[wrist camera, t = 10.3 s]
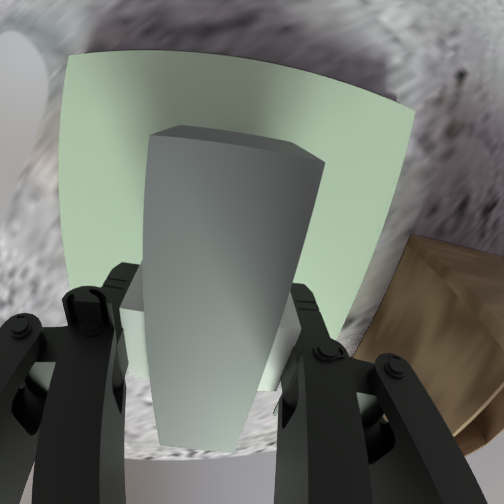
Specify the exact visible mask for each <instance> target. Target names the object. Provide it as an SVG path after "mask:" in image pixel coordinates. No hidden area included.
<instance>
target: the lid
mask: <svg viewBox="0 0 504 504" xmlns="http://www.w3.org/2000/svg"><path fill="white" fill-rule="evenodd" d="M415 112H416V111H415V110H413V109H411V108H408V107H406V106H404V105H402V104H399V103H397V102H395V101H392V100H390V99H387V98H385V97H383V96H380V95H377V94H375V93H372V92H370V91H367V90H364V89H361V88H359V87H356V86H353V85H350V84H347V83H344V82H341V81H338V80H334V79H331V78H328V77H325V76H321V75H318V74H314V73H310V72H307V71H303V70H299V69H295V68H290V67H286V66H282V65H277V64H272V63H267V62H262V61H257V60H251V59H245V58H239V57H232V56H224V55H216V54H207V53H196V52H182V51H156V50H134V51H109V52H96V53H86V54H77V55H69V58H68V63H67V69H66V75H65V81H64V88H63V96H62V105H61V116H60V130H59V155H58V179H59V204H60V219H61V230H62V239H63V248H64V255H65V262H66V269H67V275H68V281H69V286H70V291H71V290H72V289H74V288H77V287H81V286H96V287H100V288H101V286H103V283H104V281H105V280H106V279H107V276H108V275H109V273H110V271H111V270H112V268H114V267H115V266H117V265H118V264H120V263H121V262H126V263H133V264H140V263H141V261H142V259H143V301H144V320H145V335H146V347H147V358H148V368H149V377H150V385H151V393H152V400H153V407H154V413H155V420H156V426H157V431H158V437H159V442H160V445H163V446H170V447H178V448H186V449H195V450H207V451H222V452H234V451H235V448H236V446H237V443H238V441H239V438H240V436H241V433H242V430H243V428H244V425H245V422H246V420H247V417H248V414H249V412H250V409H251V406H252V403H253V401H254V398H255V395H256V392H257V389H258V387H259V384H260V381H261V378H262V375H263V372H264V369H265V367H266V364H267V361H268V358H269V355H270V352H271V349H272V346H273V343H274V340H275V337H276V334H277V331H278V328H279V325H280V321H281V318H282V315H283V312H284V309H285V306H286V302H287V299H288V296H289V293H290V289H291V286H292V283H301V284H305V285H306V286H307V287H308V288H309V289H310V290H311V291H312V292H313V295H314V297H315V299H316V304H318V307H319V312H321V315H322V317H323V320H324V322H325V325H326V327H327V330H328V333H329V335H330V338H332V339H334V340H336V338H337V336H338V334H339V332H340V330H341V328H342V326H343V324H344V322H345V319H346V317H347V315H348V313H349V311H350V308H351V306H352V304H353V302H354V299H355V297H356V295H357V293H358V290H359V288H360V285H361V283H362V281H363V278H364V276H365V273H366V271H367V268H368V266H369V263H370V261H371V258H372V256H373V253H374V250H375V248H376V245H377V242H378V240H379V237H380V234H381V231H382V229H383V226H384V223H385V220H386V217H387V214H388V211H389V208H390V205H391V202H392V199H393V195H394V192H395V189H396V186H397V182H398V179H399V176H400V172H401V169H402V165H403V161H404V158H405V154H406V150H407V146H408V142H409V138H410V134H411V130H412V126H413V121H414V117H415Z"/></svg>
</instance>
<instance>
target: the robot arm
mask: <svg viewBox="0 0 504 504" xmlns="http://www.w3.org/2000/svg"><path fill="white" fill-rule="evenodd" d="M62 302H63V307H64V311H65V315H66V319H67V322H68V326H63V327H42V324H41V322H40V320H39V319H38V317H36V316H34V315H33V314H28V313H22V314H17V315H15V316H12V317H10V318H9V319H8V320H7V321H6V322H5V323H4V324H3V325H2V326H1V328H0V504H19V503H20V500H21V497H22V494H23V491H24V488H25V485H26V482H27V480H28V477H29V474H30V472H31V469H32V466H33V464H34V461H35V465H34V475H33V487H32V504H126V495H125V473H124V425H125V401H126V383H125V374H126V371H127V367H128V369H129V374H130V376H135V377H140V378H146V379H150V377H149V368H148V358H147V347H146V335H145V320H144V301H143V259H142V261H141V263H140V264H133V263H126V262H121V263H120V264H118V265H117V266H115V267H114V268H112V270H111V271H110V273H109V275H108V276H107V279H106V280H105V281H104V283H103V286H101V288H100V287H96V286H81V287H77V288H74V289H72V290H71V291H69V292H67V293H66V294H65V296H64V297H63V298H62ZM280 381H281V386H282V395H281V397H280V399H279V401H278V403H277V405H276V407H275V409H274V412H273V415H274V416H276V415H277V413H278V432H277V454H276V474H275V493H274V504H487V501H486V499H485V497H484V495H483V493H482V491H481V489H480V486H479V484H478V483H477V480H476V478H475V476H474V474H473V473H472V470H471V468H470V467H469V465H468V463H467V461H466V459H465V457H464V455H463V453H462V451H461V449H460V448H459V446H458V444H457V442H456V440H455V438H454V437H453V435H452V433H451V431H450V430H449V428H448V426H447V424H446V423H445V421H444V419H443V417H442V416H441V414H440V412H439V411H438V409H437V407H436V406H435V404H434V402H433V401H432V399H431V397H430V396H429V394H428V392H427V391H426V389H425V388H424V386H423V384H422V383H421V381H420V380H419V378H418V376H417V375H416V373H415V372H414V370H413V369H412V367H411V366H410V364H409V363H408V362H407V361H406V360H405V359H403V358H402V357H400V356H398V355H395V354H393V353H383V354H380V355H379V356H378V357H377V358H376V359H375V361H374V362H373V363H371V362H366V361H362V360H358V359H355V358H352V357H349V355H348V353H347V351H346V349H345V348H344V347H343V346H342V345H341V344H340V343H339V342H337V341H335V340H334V339H332V338H330V335H329V333H328V330H327V327H326V325H325V322H324V320H323V317H322V315H321V312H319V307H318V304H316V299H315V297H314V295H313V292H312V291H311V290H310V289H309V288H308V287H307V286H306V285H305V284H301V283H292V286H291V289H290V293H289V296H288V299H287V302H286V306H285V309H284V312H283V315H282V318H281V321H280V325H279V328H278V331H277V334H276V337H275V340H274V343H273V346H272V349H271V352H270V355H269V358H268V361H267V364H266V367H265V369H264V372H263V375H262V378H261V381H260V384H259V387H258V389H257V390H263V391H276V390H277V388H278V385H279V383H280ZM384 414H385V416H386V418H387V420H388V422H387V421H385V419H384V418H383V415H384Z"/></svg>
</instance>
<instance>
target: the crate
mask: <svg viewBox="0 0 504 504" xmlns="http://www.w3.org/2000/svg"><path fill="white" fill-rule="evenodd" d="M383 353H393V354H395V355H398V356H400V357H402V358H403V359H405V360H406V361H407V362H408V363H409V364H410V366H411V367H412V369H413V370H414V372H415V373H416V375H417V376H418V378H419V380H420V381H421V383H422V384H423V386H424V388H425V389H426V391H427V392H428V394H429V396H430V397H431V399H432V401H433V402H434V404H435V406H436V407H437V409H438V411H439V412H440V414H441V416H442V417H443V419H444V421H445V423H446V424H447V426H448V428H449V430H450V431H451V433H452V435H453V437H454V438H455V440H456V442H457V444H458V446H459V448H460V449H461V451H462V453H463V455H464V457H466V456H468V455H470V454H472V453H473V452H475V451H477V450H479V449H481V448H482V447H484V446H486V445H487V444H488V443H489V442H491V440H493V439H494V438H495V437H496V436H497V435H498V434H500V433H501V432H502V431H503V430H504V257H501V256H497V255H493V254H490V253H486V252H482V251H478V250H474V249H471V248H467V247H463V246H459V245H455V244H451V243H447V242H442V241H438V240H434V239H430V238H425V237H421V236H417V235H412V234H411V235H410V237H409V240H408V243H407V245H406V248H405V250H404V253H403V255H402V258H401V260H400V262H399V265H398V267H397V269H396V272H395V274H394V276H393V278H392V281H391V283H390V285H389V287H388V290H387V292H386V294H385V296H384V298H383V300H382V302H381V304H380V306H379V308H378V310H377V312H376V314H375V316H374V318H373V320H372V322H371V324H370V326H369V328H368V330H367V332H366V334H365V336H364V337H363V339H362V341H361V343H360V345H359V347H358V348H357V350H356V352H355V354H354V355H353V357H352V358H355V359H358V360H362V361H366V362H371V363H373V362H374V361H375V359H376V358H377V357H378V356H379V355H380V354H383ZM383 418H384V419H385V421H387V422H388V420H387V418H386V416H385V414H384V415H383Z"/></svg>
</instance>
